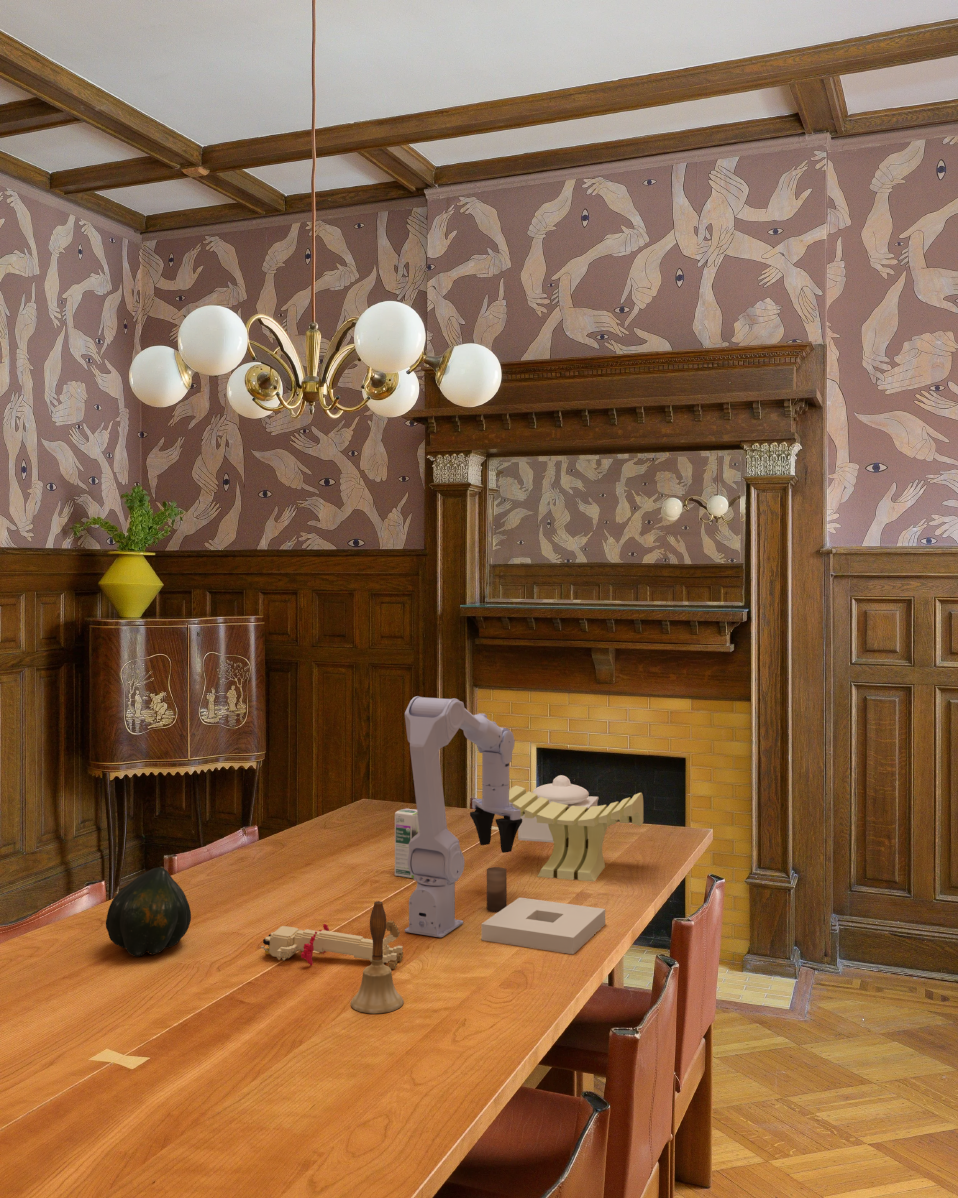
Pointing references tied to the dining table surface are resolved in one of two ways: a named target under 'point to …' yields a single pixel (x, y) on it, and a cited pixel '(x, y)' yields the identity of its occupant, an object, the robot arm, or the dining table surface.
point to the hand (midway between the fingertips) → (495, 848)
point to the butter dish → (557, 793)
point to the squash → (148, 914)
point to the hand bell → (377, 973)
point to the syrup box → (404, 839)
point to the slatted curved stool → (576, 831)
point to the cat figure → (330, 944)
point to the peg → (496, 889)
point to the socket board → (544, 925)
